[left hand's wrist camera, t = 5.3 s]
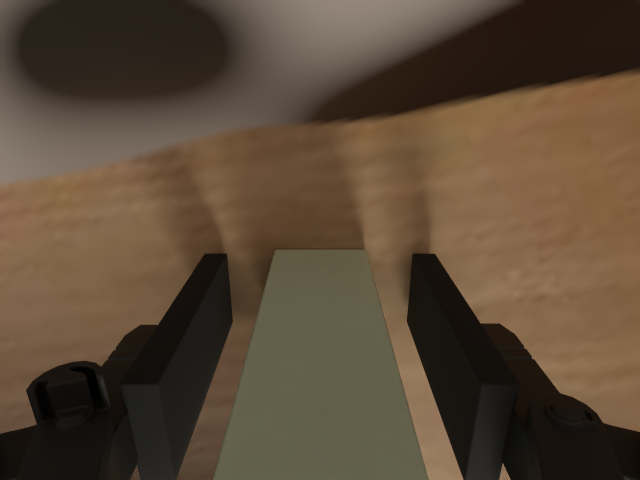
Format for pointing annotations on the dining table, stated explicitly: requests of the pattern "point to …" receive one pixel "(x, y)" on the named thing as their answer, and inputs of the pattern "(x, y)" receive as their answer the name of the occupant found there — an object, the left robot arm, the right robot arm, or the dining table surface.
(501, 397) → the left robot arm
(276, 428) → the peg
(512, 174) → the dining table surface
